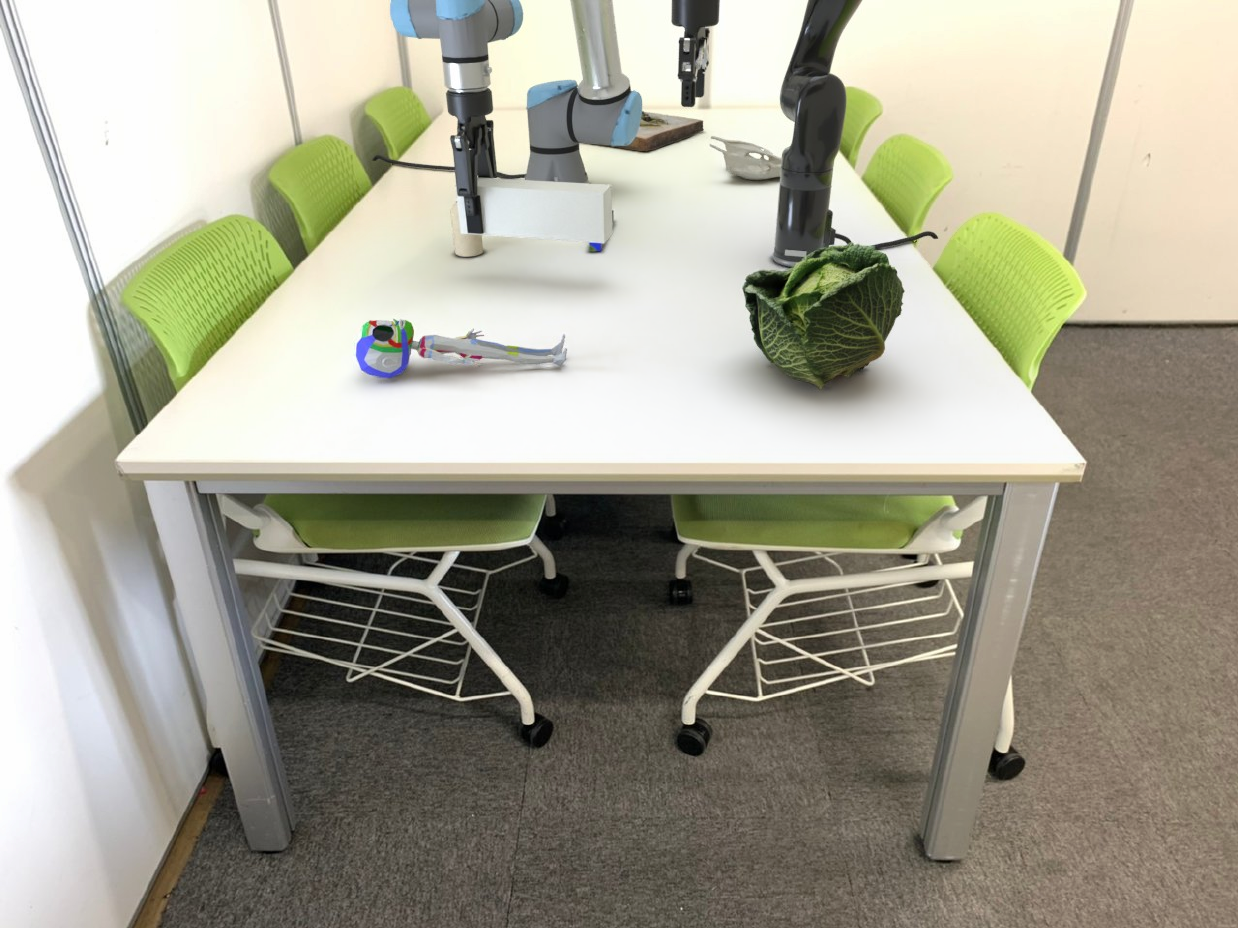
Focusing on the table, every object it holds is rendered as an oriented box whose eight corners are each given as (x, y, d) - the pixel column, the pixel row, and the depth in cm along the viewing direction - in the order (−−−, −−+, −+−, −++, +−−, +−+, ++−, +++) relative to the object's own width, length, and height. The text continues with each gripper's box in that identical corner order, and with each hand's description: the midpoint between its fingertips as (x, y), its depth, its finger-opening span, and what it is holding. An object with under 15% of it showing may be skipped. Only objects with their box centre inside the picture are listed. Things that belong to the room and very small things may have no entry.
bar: (460, 233, 159) (455, 185, 154) (472, 224, 163) (467, 176, 158) (604, 243, 153) (603, 193, 148) (612, 233, 157) (611, 184, 153)
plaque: (647, 125, 237) (559, 112, 252) (647, 153, 241) (560, 139, 256) (706, 107, 258) (622, 97, 273) (705, 133, 262) (622, 121, 277)
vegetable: (774, 398, 137) (714, 287, 129) (876, 327, 138) (822, 213, 130) (838, 431, 119) (772, 304, 111) (955, 349, 120) (897, 218, 112)
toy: (569, 347, 126) (349, 329, 122) (563, 400, 131) (350, 385, 126) (565, 318, 135) (359, 301, 130) (559, 369, 139) (360, 354, 134)
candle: (488, 249, 176) (483, 198, 171) (475, 258, 172) (470, 206, 167) (463, 246, 178) (457, 196, 173) (450, 255, 174) (443, 204, 168)
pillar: (613, 210, 190) (600, 241, 173) (613, 220, 191) (600, 251, 174) (603, 210, 190) (589, 240, 173) (603, 220, 191) (589, 251, 174)
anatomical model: (711, 132, 222) (813, 131, 218) (711, 170, 227) (811, 169, 223) (707, 147, 210) (815, 146, 206) (707, 186, 215) (813, 186, 211)
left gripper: (468, 100, 139) (482, 245, 151) (509, 79, 154) (519, 213, 167) (423, 98, 141) (441, 242, 153) (468, 78, 156) (481, 211, 168)
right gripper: (712, -4, 133) (708, 111, 142) (726, -13, 145) (721, 94, 153) (662, -5, 135) (661, 109, 143) (680, -13, 146) (678, 93, 155)
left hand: (482, 227), depth 160 cm, fingers closed on bar, 5 cm apart
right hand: (692, 101), depth 148 cm, fingers open, 8 cm apart
